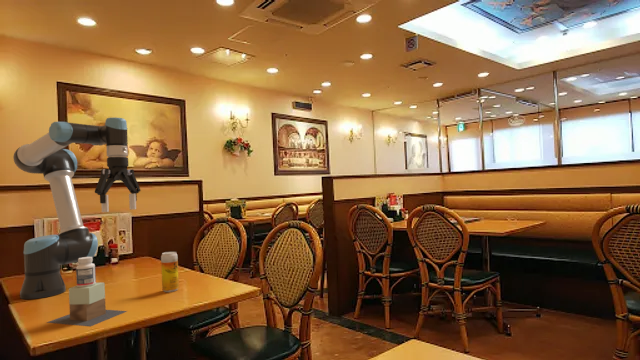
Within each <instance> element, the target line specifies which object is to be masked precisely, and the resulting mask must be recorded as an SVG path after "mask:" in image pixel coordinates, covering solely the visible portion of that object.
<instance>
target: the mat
mask: <svg viewBox="0 0 640 360" xmlns="http://www.w3.org/2000/svg"><path fill="white" fill-rule="evenodd" d="M127 312H128V310H118V309H117V310H114V309H106V314H104V315H101V316H99V317H96V318H93V319H91V320H88V321H80V320H70V313H69V314H66V315H63V316H60V317H58V318H55V319H52V320H50V321H46V323H48V324H60V325H71V326H81V327H93V326H95V325H98V324H101V323H103V322H105V321H107V320H110V319H113V318H114V317H117V316H119V315H122V314H125V313H127Z"/></svg>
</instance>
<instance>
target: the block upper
mask: <svg viewBox="0 0 640 360" xmlns="http://www.w3.org/2000/svg"><path fill="white" fill-rule="evenodd" d="M105 284H106V283H105V282H96V284H95V285H92V286H88V287H77V285H75V286H71V287H70V288H68V299H69V300H68V303H69V304H91V303H94V302H96V301H99V300H101V299H103V298H105V299H106V290H105V288H106V286H105Z"/></svg>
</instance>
